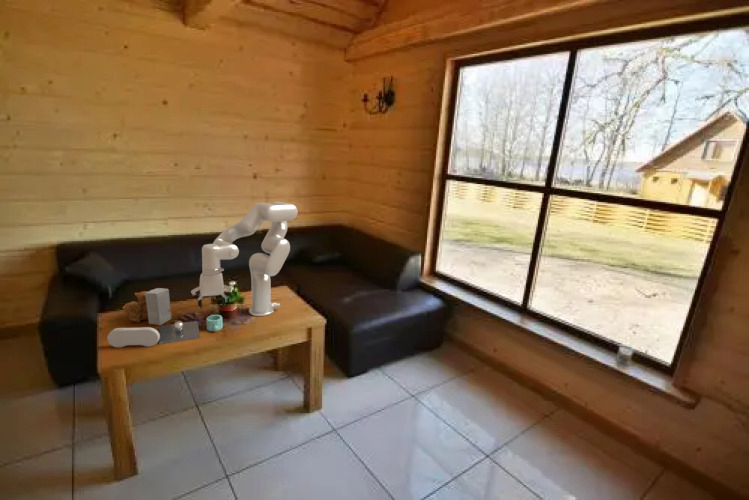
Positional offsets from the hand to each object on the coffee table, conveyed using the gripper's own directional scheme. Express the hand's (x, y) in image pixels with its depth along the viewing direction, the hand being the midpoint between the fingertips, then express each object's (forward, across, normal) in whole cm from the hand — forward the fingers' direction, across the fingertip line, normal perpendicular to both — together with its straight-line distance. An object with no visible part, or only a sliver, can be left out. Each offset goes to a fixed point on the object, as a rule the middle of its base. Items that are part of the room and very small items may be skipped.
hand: (212, 306), depth 178 cm
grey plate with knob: (+12, +14, 0) cm, 18 cm away
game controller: (+12, +31, +6) cm, 34 cm away
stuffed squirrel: (+12, +30, -22) cm, 39 cm away
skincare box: (+12, +22, -16) cm, 30 cm away
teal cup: (+11, -1, +1) cm, 11 cm away
